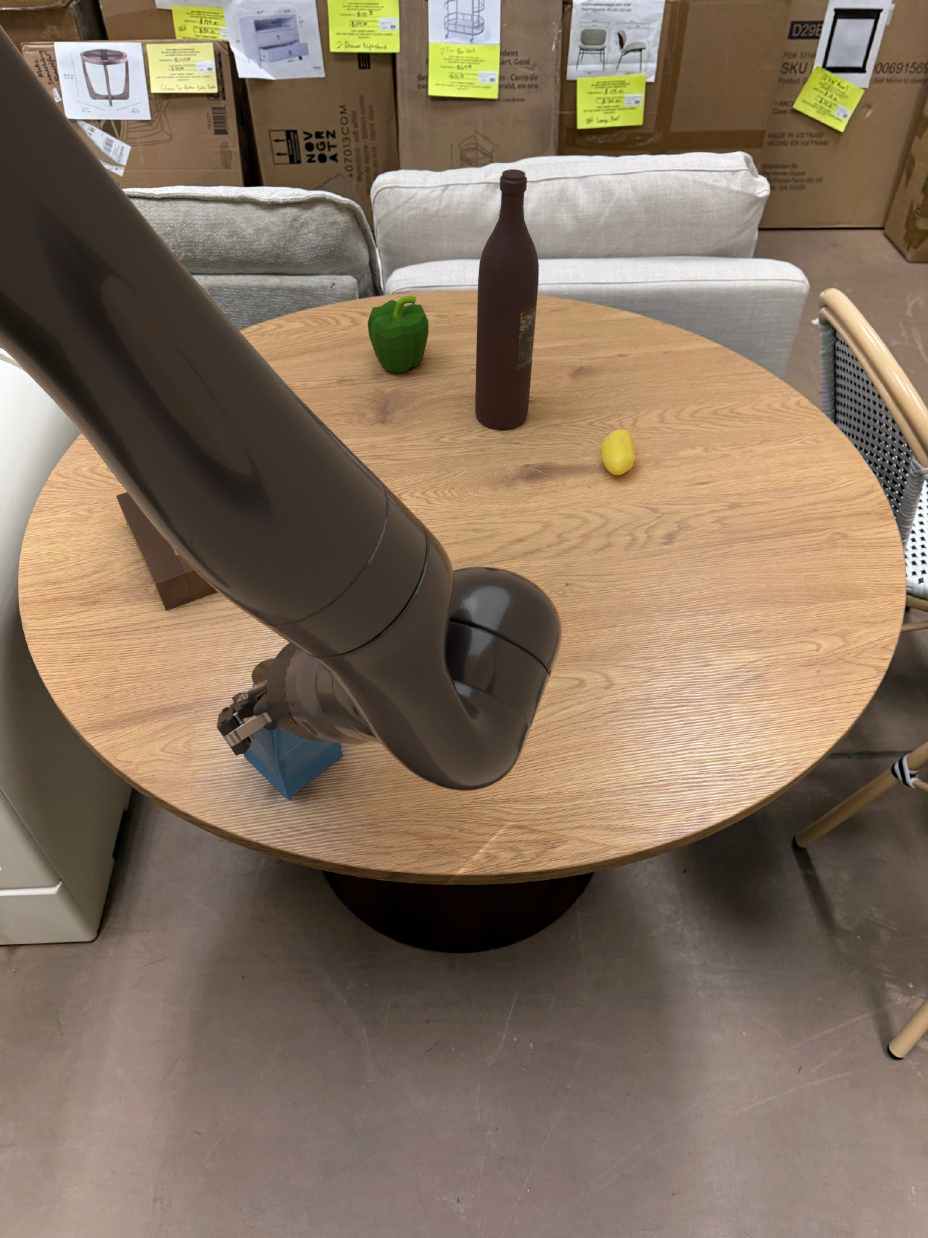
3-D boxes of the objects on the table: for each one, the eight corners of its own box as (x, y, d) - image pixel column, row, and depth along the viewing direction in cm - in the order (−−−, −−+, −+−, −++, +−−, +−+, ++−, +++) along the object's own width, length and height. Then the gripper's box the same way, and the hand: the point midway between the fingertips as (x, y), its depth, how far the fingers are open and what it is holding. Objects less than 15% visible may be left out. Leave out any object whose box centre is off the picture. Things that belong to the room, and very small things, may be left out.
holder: (165, 610, 84) (155, 583, 81) (126, 522, 93) (115, 495, 90) (307, 558, 90) (302, 531, 87) (257, 480, 99) (251, 453, 96)
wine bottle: (518, 435, 105) (536, 190, 83) (467, 424, 107) (471, 180, 85) (534, 406, 110) (555, 166, 87) (485, 396, 111) (493, 157, 89)
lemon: (635, 447, 104) (640, 422, 101) (630, 486, 99) (635, 460, 96) (602, 443, 104) (607, 417, 101) (595, 481, 99) (599, 455, 96)
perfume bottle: (343, 755, 73) (327, 672, 64) (288, 800, 70) (264, 719, 61) (299, 716, 76) (278, 631, 67) (244, 757, 73) (215, 674, 64)
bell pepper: (362, 373, 115) (355, 306, 107) (382, 345, 120) (378, 278, 113) (418, 383, 113) (415, 316, 106) (436, 354, 118) (435, 287, 111)
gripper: (394, 581, 56) (309, 608, 70) (218, 699, 49) (164, 701, 64) (449, 672, 57) (354, 680, 72) (284, 799, 50) (217, 779, 65)
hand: (265, 690), depth 68 cm, fingers closed on perfume bottle, 4 cm apart
